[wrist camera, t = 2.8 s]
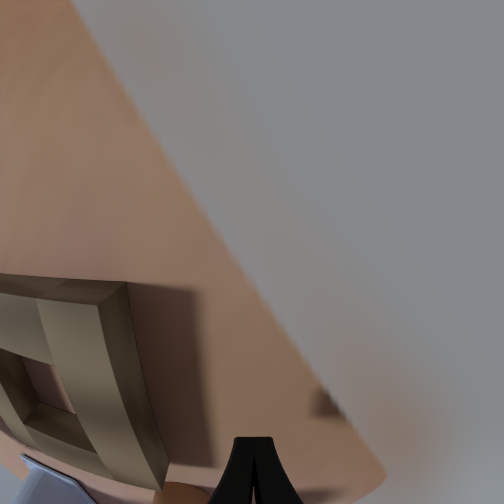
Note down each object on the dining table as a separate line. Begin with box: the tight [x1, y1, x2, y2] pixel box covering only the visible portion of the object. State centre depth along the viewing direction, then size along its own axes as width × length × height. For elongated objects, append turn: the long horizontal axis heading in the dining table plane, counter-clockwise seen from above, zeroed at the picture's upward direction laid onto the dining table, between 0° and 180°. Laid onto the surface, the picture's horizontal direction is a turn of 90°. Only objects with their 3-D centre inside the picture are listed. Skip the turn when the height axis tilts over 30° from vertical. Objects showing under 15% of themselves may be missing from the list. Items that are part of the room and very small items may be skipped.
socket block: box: [0, 274, 169, 492], centre depth 10 cm, size 12×12×2 cm
